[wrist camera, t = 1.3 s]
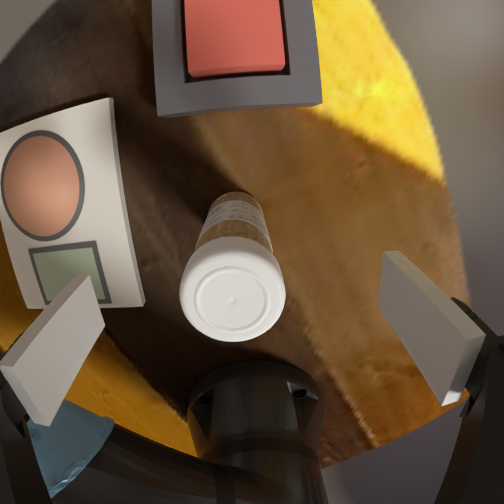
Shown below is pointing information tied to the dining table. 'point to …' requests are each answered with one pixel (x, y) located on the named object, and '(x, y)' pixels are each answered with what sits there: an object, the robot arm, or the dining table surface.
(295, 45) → the button housing
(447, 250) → the dining table surface
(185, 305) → the spice jar
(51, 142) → the picture board
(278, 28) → the button
